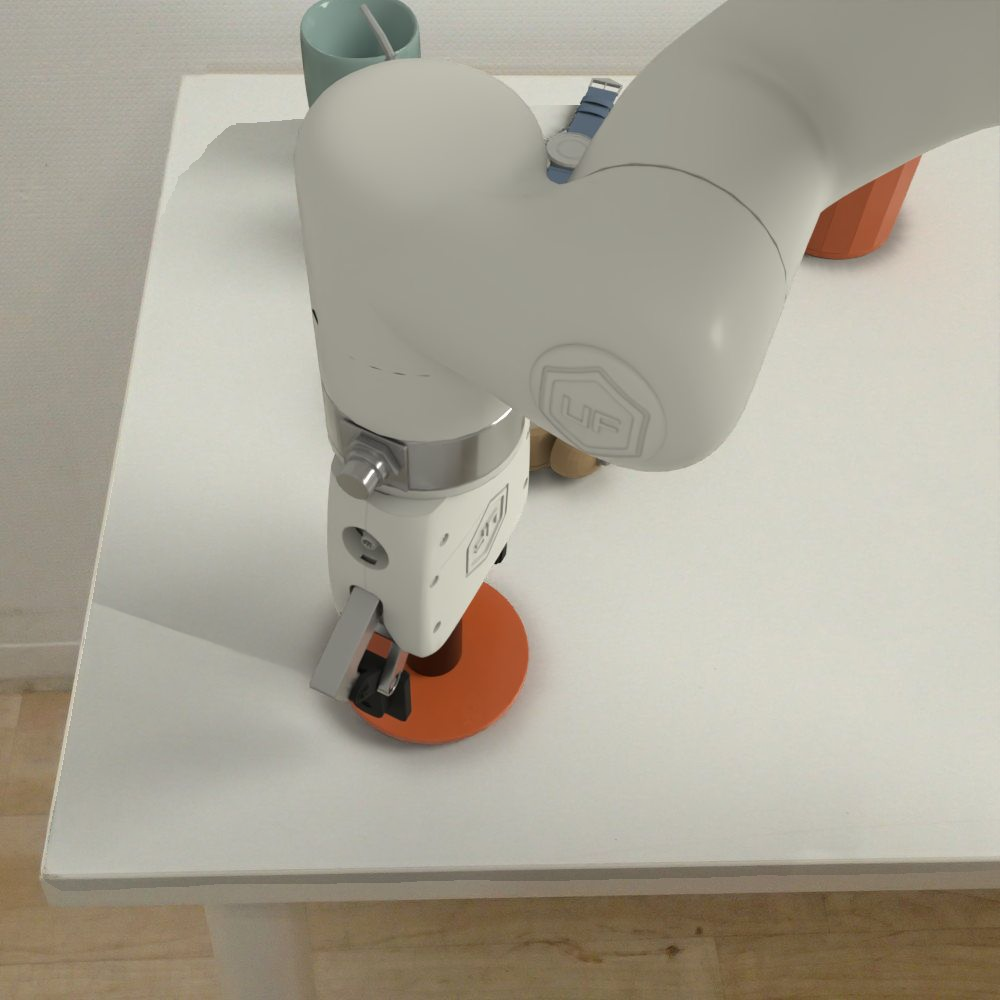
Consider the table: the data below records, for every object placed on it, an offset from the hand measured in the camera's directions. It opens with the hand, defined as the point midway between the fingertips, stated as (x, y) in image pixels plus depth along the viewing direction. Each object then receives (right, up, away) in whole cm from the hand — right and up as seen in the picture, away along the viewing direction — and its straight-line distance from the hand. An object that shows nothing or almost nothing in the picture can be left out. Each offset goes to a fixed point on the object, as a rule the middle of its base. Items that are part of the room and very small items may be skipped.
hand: (429, 623), depth 57 cm
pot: (+26, +26, +24) cm, 44 cm away
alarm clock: (+6, +11, +13) cm, 18 cm away
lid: (0, -2, +3) cm, 3 cm away
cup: (-6, +31, +27) cm, 41 cm away
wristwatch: (+8, +30, +27) cm, 41 cm away
